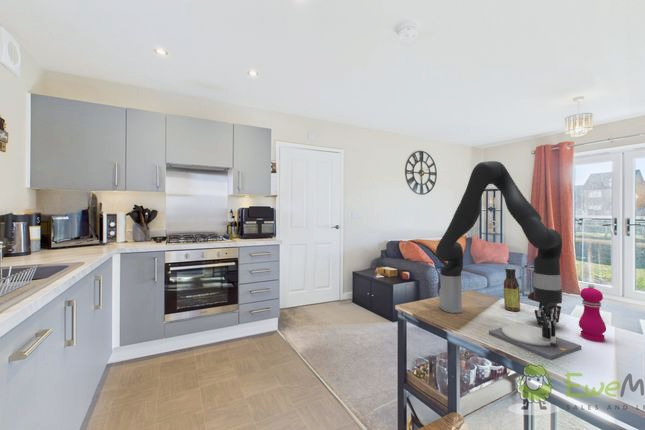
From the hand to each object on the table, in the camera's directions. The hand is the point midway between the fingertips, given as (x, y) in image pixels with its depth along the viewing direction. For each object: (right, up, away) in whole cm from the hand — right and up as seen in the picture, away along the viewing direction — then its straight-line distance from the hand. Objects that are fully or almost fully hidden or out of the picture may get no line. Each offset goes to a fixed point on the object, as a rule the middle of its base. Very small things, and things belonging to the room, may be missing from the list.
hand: (549, 336), depth 95 cm
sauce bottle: (+13, -4, +38) cm, 40 cm away
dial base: (-2, -4, +5) cm, 7 cm away
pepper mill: (+22, -4, +7) cm, 23 cm away
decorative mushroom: (+14, -4, +19) cm, 23 cm away
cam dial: (-2, -3, +6) cm, 7 cm away
